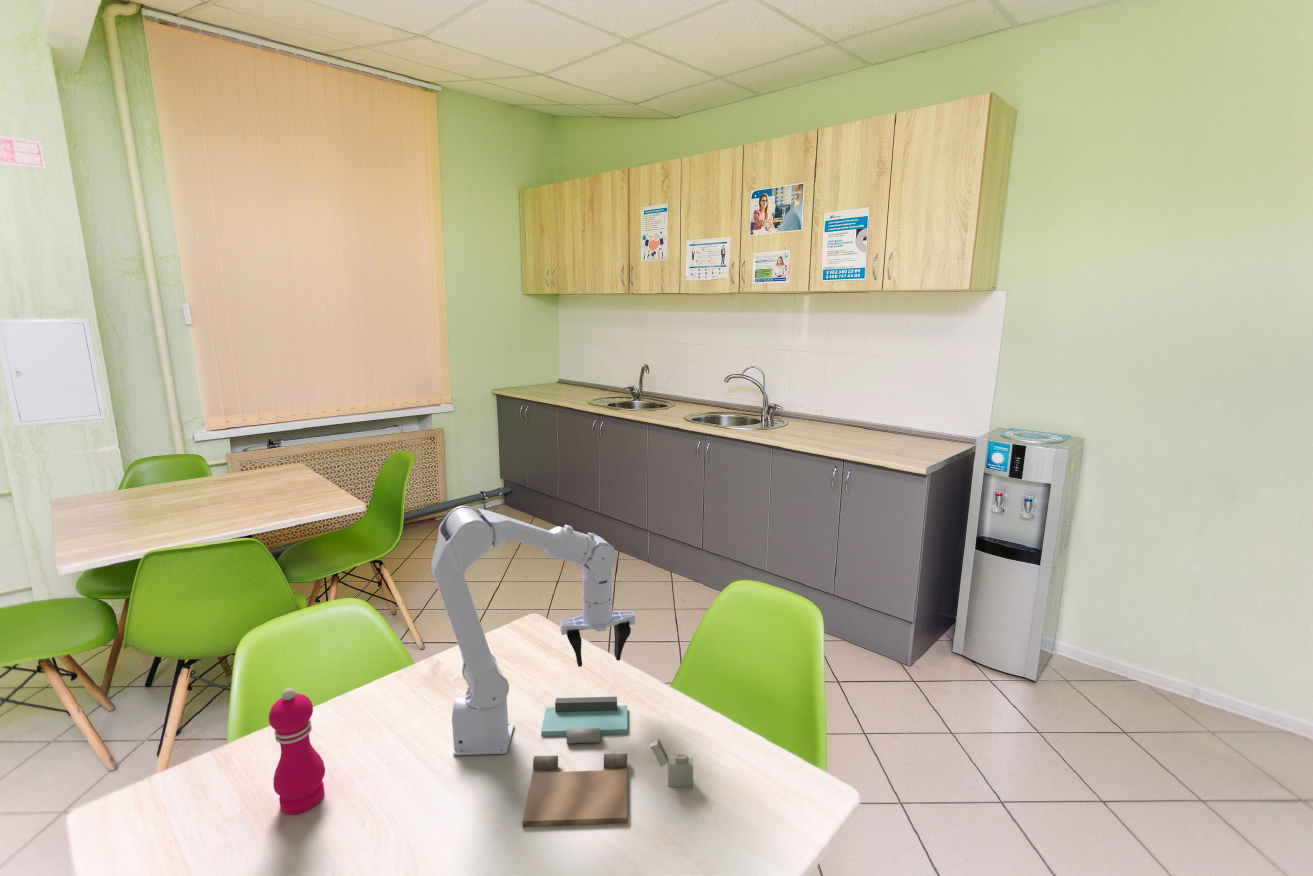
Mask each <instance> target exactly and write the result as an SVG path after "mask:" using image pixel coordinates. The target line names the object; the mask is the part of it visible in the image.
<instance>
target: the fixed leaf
mask: <svg viewBox="0 0 1313 876" xmlns="http://www.w3.org/2000/svg"><path fill="white" fill-rule="evenodd" d="M532 761H533V762H532V774H531V778H530V783H529V788H528V793H527V798H526V802H525V808H524V812H523V817H522V820H521V821H522V828H526V827H529V828H530V827H531V828H532V827H553V826H554V827H556V826H559V827H560V826H561V827H562V826H582V825H583V826H584V825H585V826H586V825H613V824H615V825H616V824H627V823H628V753H625V752H624V753H623V752H622V753H604V754H603V770H581V771H579V770H578V771H577V770H575V771H558V770H559V769H558V768H559V755H537V756H536V755H534V756H533V760H532Z"/></svg>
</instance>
